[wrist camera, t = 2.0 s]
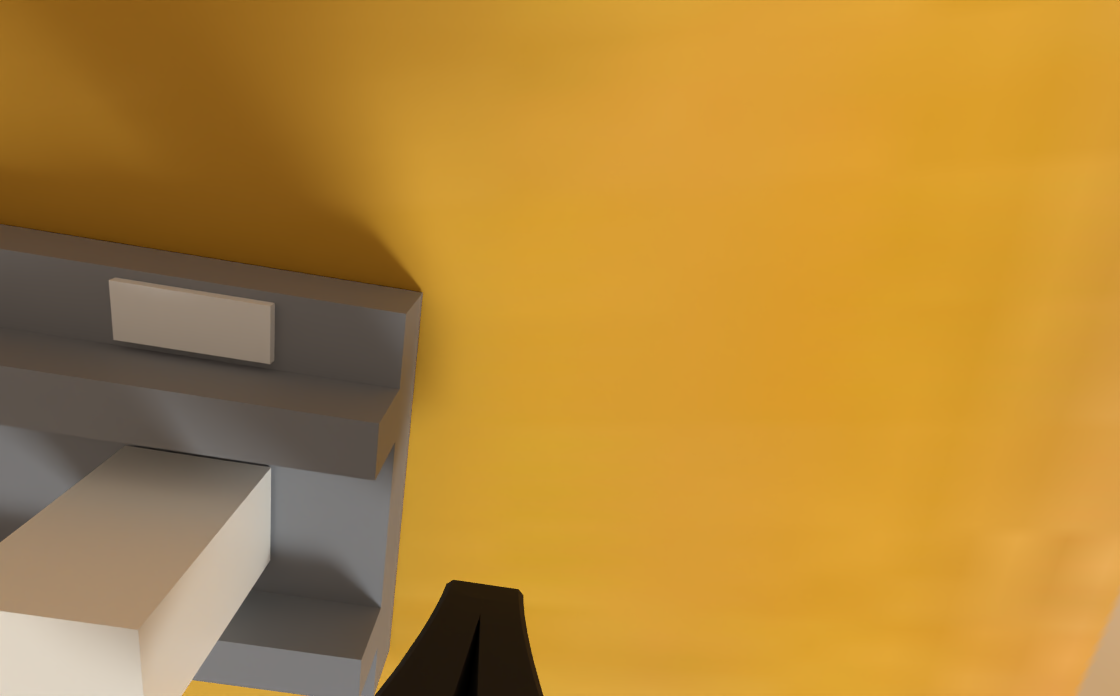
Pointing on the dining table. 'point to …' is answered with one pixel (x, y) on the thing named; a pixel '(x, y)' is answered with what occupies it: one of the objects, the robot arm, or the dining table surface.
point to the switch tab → (131, 575)
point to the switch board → (225, 425)
